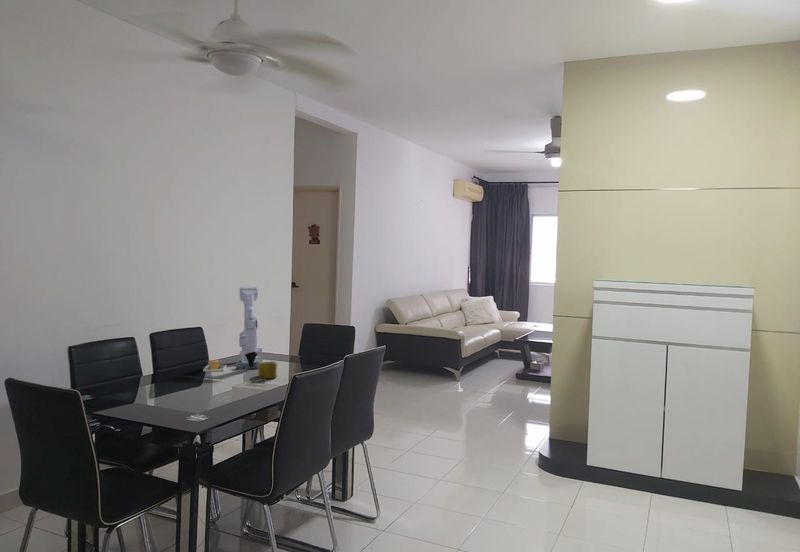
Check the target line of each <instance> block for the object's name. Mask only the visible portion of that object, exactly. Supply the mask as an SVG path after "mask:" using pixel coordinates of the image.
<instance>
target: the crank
mask: <svg viewBox="0 0 800 552" xmlns="http://www.w3.org/2000/svg"><path fill="white" fill-rule="evenodd" d="M258 363H260V360H259V359H255V361H254V364H253V367H249V363H248V362H245V361H242V359H238V360H237V361H235V370H246V369H248V370H249V369H255V370H257V369H258Z"/></svg>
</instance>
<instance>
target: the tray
mask: <svg viewBox="0 0 800 552" xmlns="http://www.w3.org/2000/svg"><path fill="white" fill-rule="evenodd" d="M227 367H228V365H227V364H226V365H220V364H219V368H220V369H210V365H206V366H205V367H204V368H203V369H202V370H203V371H202V372H225V370H226V369H227Z"/></svg>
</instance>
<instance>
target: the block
mask: <svg viewBox="0 0 800 552" xmlns="http://www.w3.org/2000/svg"><path fill="white" fill-rule="evenodd" d="M219 363H220V362H219V360H218V359H216V360H215V359H213V360H212V359H211V360H210V361H209V366H210V368H209V369H219V366H220V364H219Z"/></svg>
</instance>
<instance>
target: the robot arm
mask: <svg viewBox="0 0 800 552" xmlns="http://www.w3.org/2000/svg"><path fill="white" fill-rule="evenodd" d="M258 294H259V290H258V287H257V286H240V287H239V301H240V302H242V303H243V308H244V309H243V311H244V312H243V313H244V314H243V315H244V316H243V318H244V322H243V323H244V325H243V326H244V328H243V329H244V330H243V331H241V332H240V334H239V338H238V339H239V340H238V342H239V344H238V345H239V347H240V348H241V351H239V356H241V360H242V361H245V362H248V363H249V367H253V364H254V362H256V358H257V356H258V353H259V352H263V347H257V346H258V334H257V330H258V325H259V324H258V323H259V322H258V318H257V314H256V312H257V311H256V309H255V308H254V302H255V301H257V299H258Z"/></svg>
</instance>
